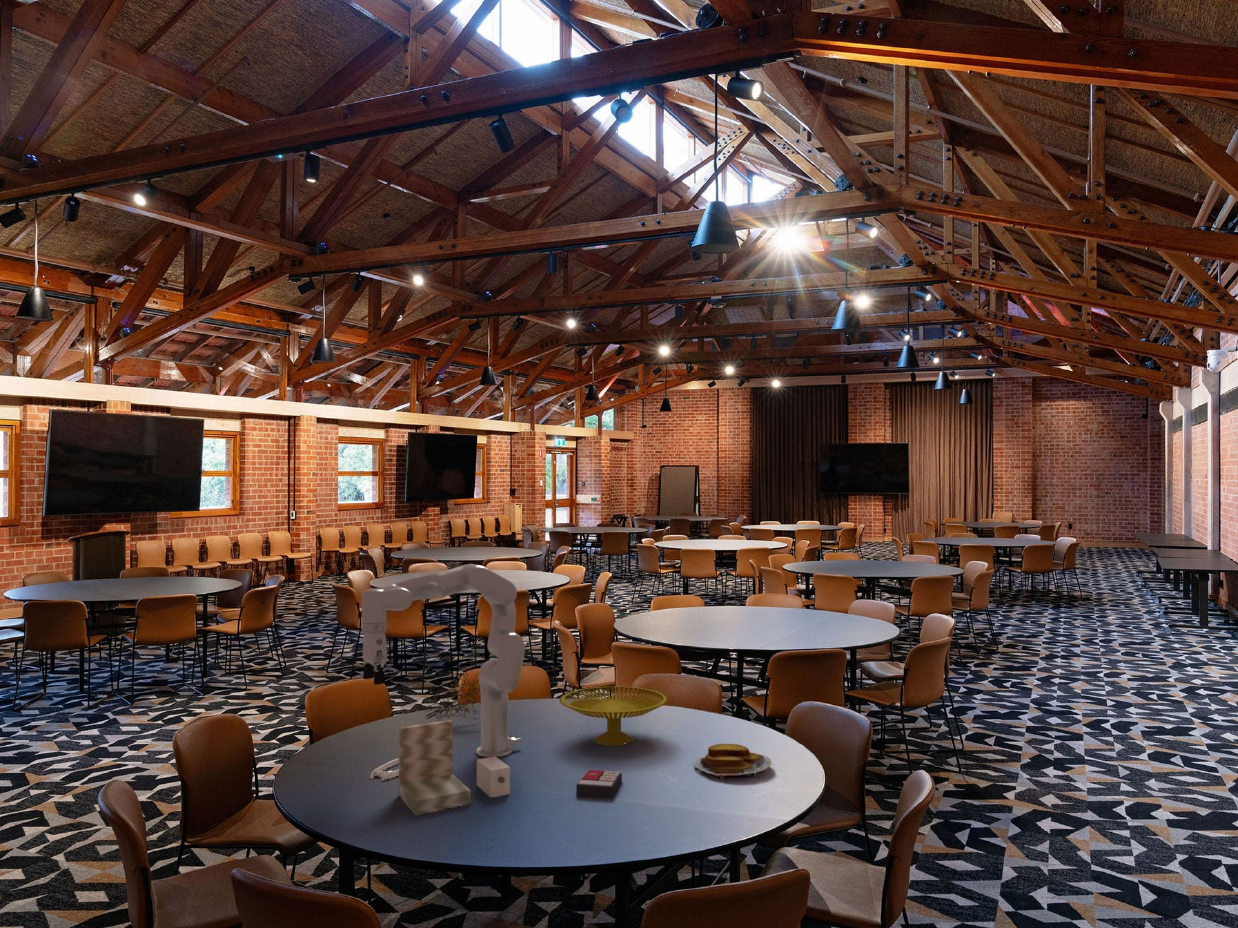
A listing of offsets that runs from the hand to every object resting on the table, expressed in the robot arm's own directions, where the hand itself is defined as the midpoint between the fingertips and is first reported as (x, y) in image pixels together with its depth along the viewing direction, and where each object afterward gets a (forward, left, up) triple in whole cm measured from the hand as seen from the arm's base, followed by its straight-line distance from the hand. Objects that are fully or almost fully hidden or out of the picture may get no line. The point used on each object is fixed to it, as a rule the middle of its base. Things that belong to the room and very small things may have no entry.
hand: (373, 681), depth 258 cm
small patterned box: (-56, +47, -31) cm, 80 cm away
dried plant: (-50, -41, -30) cm, 72 cm away
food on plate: (-102, +54, -31) cm, 120 cm away
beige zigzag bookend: (-10, +30, -30) cm, 44 cm away
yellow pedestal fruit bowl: (-85, +6, -30) cm, 91 cm away
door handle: (-10, -3, -31) cm, 32 cm away
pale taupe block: (-28, +31, -30) cm, 52 cm away
